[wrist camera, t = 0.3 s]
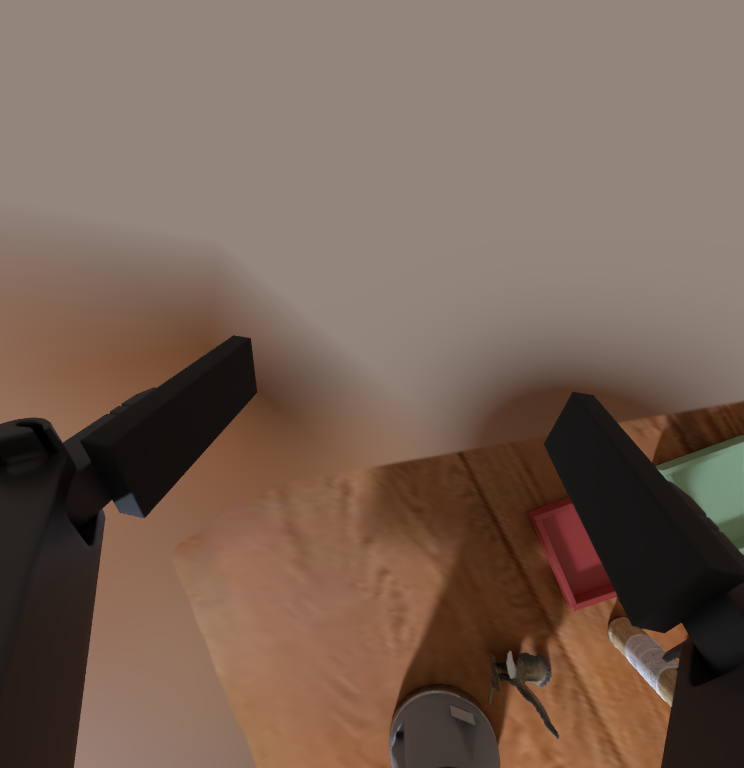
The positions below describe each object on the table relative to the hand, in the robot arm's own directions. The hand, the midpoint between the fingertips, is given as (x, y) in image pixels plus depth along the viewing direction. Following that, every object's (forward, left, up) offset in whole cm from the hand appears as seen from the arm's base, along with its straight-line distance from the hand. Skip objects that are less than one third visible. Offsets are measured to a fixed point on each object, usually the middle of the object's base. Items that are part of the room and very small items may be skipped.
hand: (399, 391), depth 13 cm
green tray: (-29, -38, -36) cm, 60 cm away
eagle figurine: (-42, -2, -36) cm, 55 cm away
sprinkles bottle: (-42, -18, -36) cm, 58 cm away
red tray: (-29, -19, -36) cm, 50 cm away
